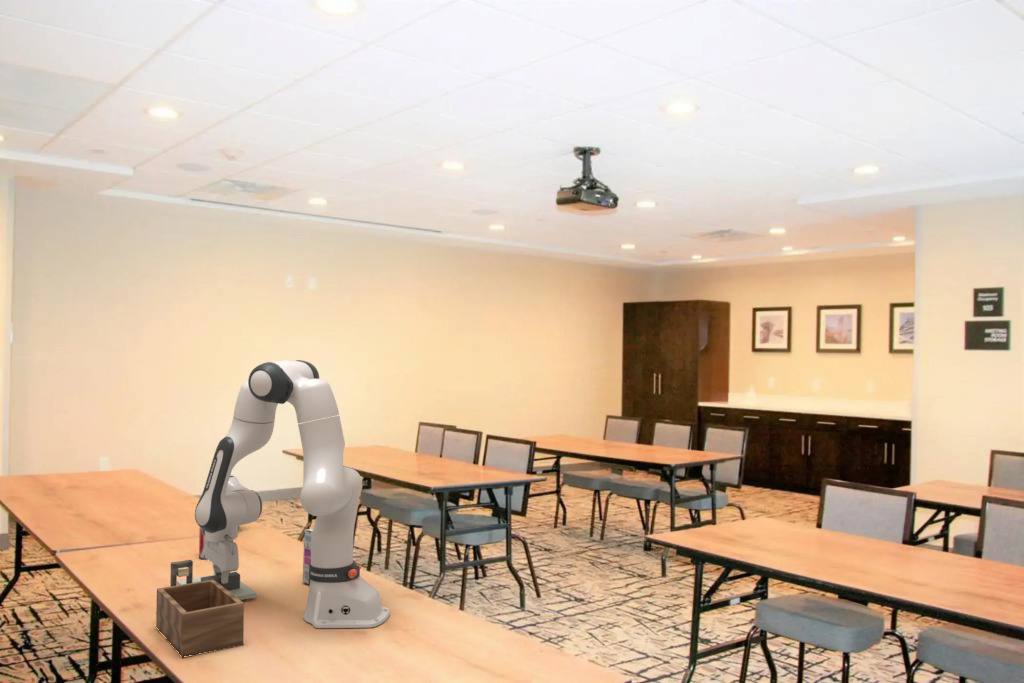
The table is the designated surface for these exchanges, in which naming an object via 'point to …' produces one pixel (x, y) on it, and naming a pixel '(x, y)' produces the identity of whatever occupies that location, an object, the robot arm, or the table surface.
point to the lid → (228, 585)
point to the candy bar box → (307, 555)
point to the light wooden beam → (182, 571)
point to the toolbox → (198, 614)
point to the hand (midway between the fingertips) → (221, 580)
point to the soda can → (201, 545)
